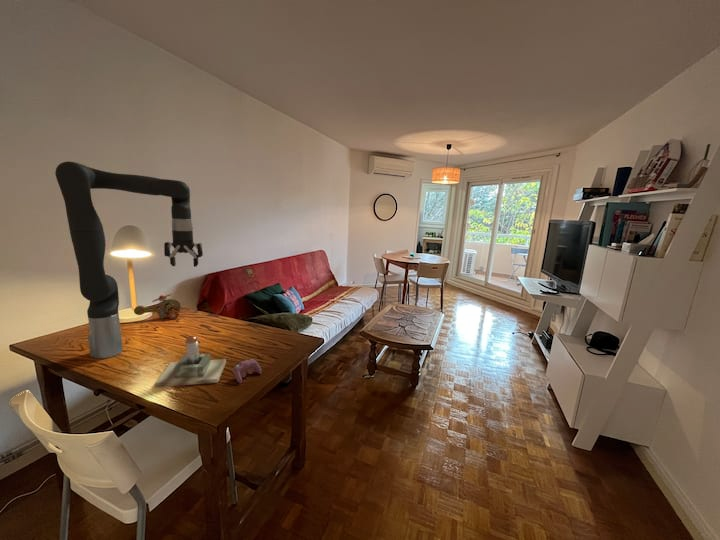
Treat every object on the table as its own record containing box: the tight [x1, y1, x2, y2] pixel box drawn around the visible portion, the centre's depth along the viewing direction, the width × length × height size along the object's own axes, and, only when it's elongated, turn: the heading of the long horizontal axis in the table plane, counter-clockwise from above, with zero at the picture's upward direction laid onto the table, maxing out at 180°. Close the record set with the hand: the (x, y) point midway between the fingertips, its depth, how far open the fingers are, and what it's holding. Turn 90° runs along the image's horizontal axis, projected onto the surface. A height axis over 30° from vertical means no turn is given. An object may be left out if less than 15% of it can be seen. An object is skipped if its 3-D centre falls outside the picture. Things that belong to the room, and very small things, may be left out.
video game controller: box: [232, 358, 263, 384], centre depth 109 cm, size 10×5×7 cm, turn 142°
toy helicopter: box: [133, 293, 182, 320], centre depth 154 cm, size 8×21×14 cm, turn 121°
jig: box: [154, 353, 227, 388], centre depth 108 cm, size 20×14×6 cm
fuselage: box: [185, 335, 200, 365], centre depth 107 cm, size 4×4×14 cm
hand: (184, 266), depth 125 cm, fingers open, 8 cm apart
